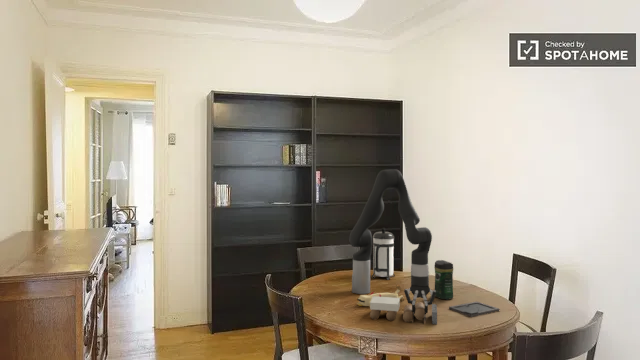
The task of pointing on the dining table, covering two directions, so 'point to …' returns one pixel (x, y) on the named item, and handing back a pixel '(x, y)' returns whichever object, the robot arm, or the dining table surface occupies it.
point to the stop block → (434, 313)
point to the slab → (385, 303)
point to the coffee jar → (443, 279)
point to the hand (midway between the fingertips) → (420, 313)
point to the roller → (420, 311)
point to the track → (391, 315)
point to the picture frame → (474, 309)
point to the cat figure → (366, 299)
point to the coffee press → (383, 254)
